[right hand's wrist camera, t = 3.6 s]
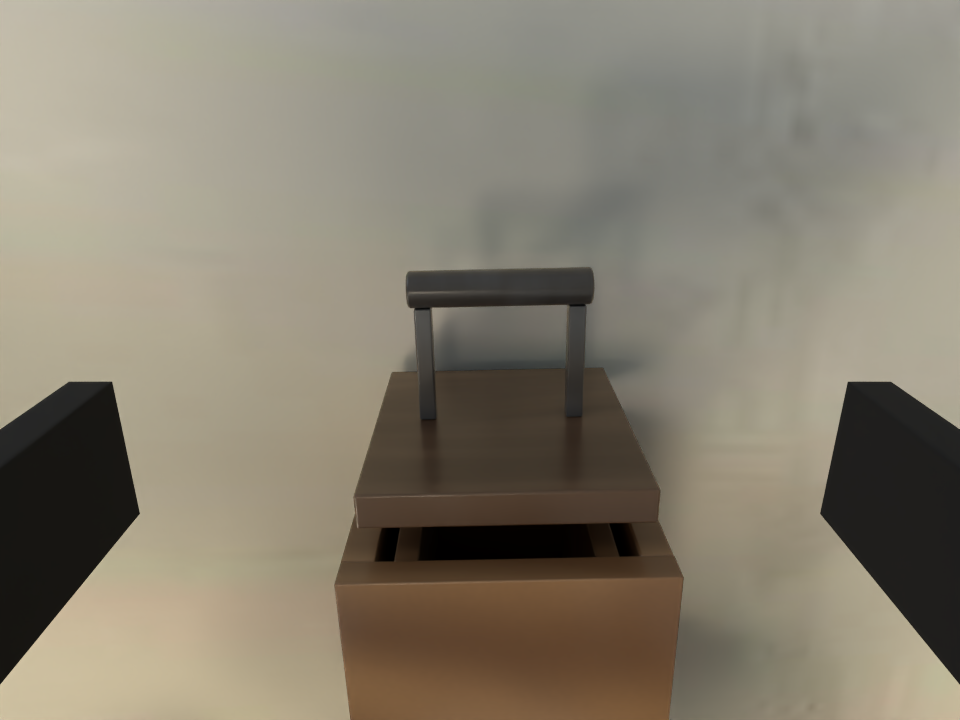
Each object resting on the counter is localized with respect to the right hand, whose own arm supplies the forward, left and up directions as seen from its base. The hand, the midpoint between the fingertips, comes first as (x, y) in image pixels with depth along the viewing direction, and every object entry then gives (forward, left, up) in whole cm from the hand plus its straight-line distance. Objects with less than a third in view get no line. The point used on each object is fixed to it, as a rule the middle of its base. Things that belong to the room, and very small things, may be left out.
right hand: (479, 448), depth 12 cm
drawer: (-6, -8, -17) cm, 19 cm away
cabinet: (-9, -13, -18) cm, 24 cm away
